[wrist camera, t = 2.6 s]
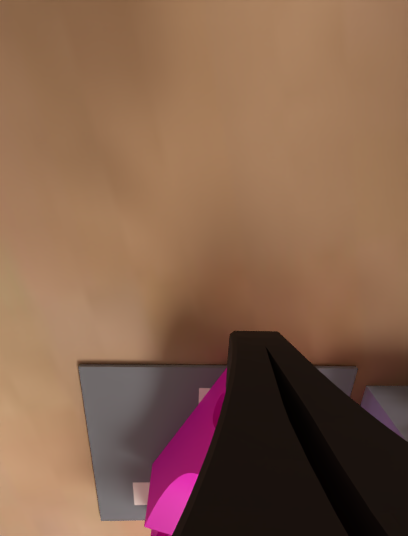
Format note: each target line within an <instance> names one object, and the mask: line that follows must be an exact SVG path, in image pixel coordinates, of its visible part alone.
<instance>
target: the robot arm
mask: <svg viewBox="0 0 408 536" xmlns="http://www.w3.org/2000/svg"><path fill="white" fill-rule="evenodd" d="M172 536H408V442H407V441H406V440H405V439H403V438H402V437H400V436H399V435H398V434H396V433H395V432H393V431H392V430H391V429H389V428H388V427H387V426H385V425H384V424H383V423H381V422H380V421H379V420H377V419H376V418H375V417H374V416H372V415H371V414H370V413H369V412H367V411H366V410H365V409H364V408H362V407H361V406H360V405H359V404H358V403H356V402H355V401H354V400H353V399H351V398H350V397H349V396H348V395H347V394H345V393H344V392H343V391H342V390H341V389H339V388H338V387H337V386H336V385H335V384H334V383H333V382H331V381H330V380H329V379H328V378H327V377H326V376H325V375H324V374H322V373H321V372H320V371H319V370H318V369H317V368H316V367H315V366H314V365H313V364H312V363H310V362H309V361H308V360H307V359H306V358H305V357H304V356H303V355H302V354H301V353H300V352H299V351H298V350H297V349H296V348H295V347H294V346H292V345H291V344H290V343H289V342H288V341H287V340H286V339H285V338H284V337H283V336H282V335H281V334H280V333H279V332H272V331H234V332H232V333H231V334H230V338H229V350H228V363H227V375H226V393H225V397H224V401H223V404H222V408H221V412H220V416H219V419H218V422H217V425H216V428H215V431H214V434H213V437H212V440H211V443H210V446H209V449H208V451H207V454H206V457H205V459H204V462H203V464H202V467H201V469H200V472H199V475H198V477H197V480H196V482H195V485H194V487H193V490H192V492H191V494H190V497H189V499H188V501H187V504H186V506H185V508H184V510H183V513H182V515H181V517H180V519H179V521H178V523H177V526H176V528H175V530H174V532H173V534H172Z"/></svg>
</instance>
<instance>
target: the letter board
mask: <svg viewBox="0 0 408 536" xmlns="http://www.w3.org/2000/svg"><path fill="white" fill-rule="evenodd" d="M315 367H316V368H317V369H318V370H319V371H320V372H321V373H322V374H324V375H325V376H326V377H327V378H328V379H329V380H330V381H331V382H333V383H334V384H335V385H336V386H337V387H338V388H339V389H341V390H342V391H343V392H344V393H345V394H347V395H348V396H349V397H350V395H351V392H352V388H353V384H354V381H355V377H356V374H357V370H358V368H357V367H356V366H315ZM78 368H79V374H80V381H81V388H82V395H83V401H84V408H85V415H86V421H87V428H88V435H89V442H90V448H91V455H92V462H93V469H94V475H95V482H96V489H97V496H98V502H99V509H100V516H101V521H125V520H145V517H146V510H147V502H148V494H149V486H150V479H151V471H152V464H153V463H154V462H155V460H156V459H157V458H158V456H159V455H160V454H161V452H162V451H163V450H164V449H165V447H166V446H167V445H168V443H169V442H170V441H171V439H172V438H173V437H174V436H175V434H176V433H177V432H178V430H179V429H180V428H181V426H182V425H183V424H184V423H185V421H186V420H187V419H188V417H189V416H190V415H191V413H192V412H193V411H194V410H195V408H196V407H197V406H198V404H199V403H200V402H201V400H202V399H203V398H204V397H205V395H206V394H207V393H208V391H209V390H210V389H211V387H212V386H213V385H214V384H215V382H216V381H217V380H218V378H219V377H220V376H221V374H222V373H223V372H224V371H225V369H226V368H227V365H114V364H79V366H78Z"/></svg>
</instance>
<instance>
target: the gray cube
mask: <svg viewBox="0 0 408 536" xmlns="http://www.w3.org/2000/svg"><path fill="white" fill-rule="evenodd" d="M360 406H361V407H362V408H364V409H365V410H366V411H367V412H369V413H370V414H371V415H372V416H374V417H375V418H376V419H377V420H379V421H380V422H381V423H383V424H384V425H385V426H387V427H388V428H389V429H391V430H392V431H393V432H395V433H396V434H398V435H399V436H400V437H402V438H403V439H405V440H406V441H407V442H408V386H366V388H365V392H364V395H363V398H362V402H361V405H360Z"/></svg>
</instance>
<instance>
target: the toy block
mask: <svg viewBox="0 0 408 536" xmlns="http://www.w3.org/2000/svg"><path fill="white" fill-rule="evenodd" d="M226 375H227V368H226V369H225V371H224V372H223V373H222V374H221V376H220V377H219V378H218V380H217V381H216V382H215V384H214V385H213V386H212V387H211V389H210V390H209V391H208V393H207V394H206V395H205V397H204V398H203V399H202V400H201V402H200V403H199V404H198V406H197V407H196V408H195V410H194V411H193V412H192V413H191V415H190V416H189V417H188V419H187V420H186V421H185V423H184V424H183V425H182V426H181V428H180V429H179V430H178V432H177V433H176V434H175V436H174V437H173V438H172V439H171V441H170V442H169V443H168V445H167V446H166V447H165V449H164V450H163V451H162V452H161V454H160V455H159V456H158V458H157V459H156V460H155V462H154V463H153V464H152V471H151V479H150V486H149V494H148V502H147V510H146V517H145V525H144V527H147V528H150V529H152V531H151V536H172V534H173V532H174V530H175V528H176V526H177V523H178V521H179V519H180V517H181V515H182V513H183V510H184V508H185V506H186V504H187V501H188V499H189V497H190V494H191V492H192V490H193V487H194V485H195V482H196V480H197V477H198V475H199V472H200V469H201V467H202V464H203V462H204V459H205V457H206V454H207V451H208V449H209V446H210V443H211V440H212V437H213V434H214V431H215V428H216V425H217V422H218V419H219V416H220V412H221V408H222V404H223V401H224V397H225V393H226Z"/></svg>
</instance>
